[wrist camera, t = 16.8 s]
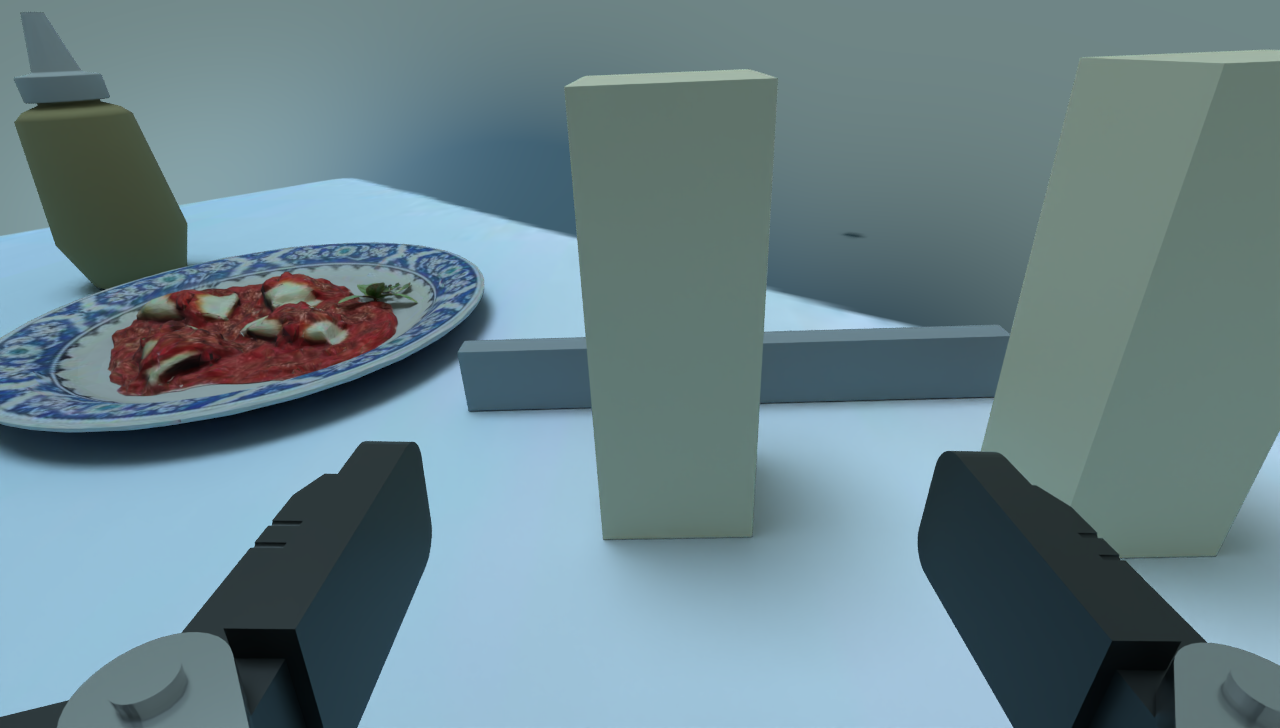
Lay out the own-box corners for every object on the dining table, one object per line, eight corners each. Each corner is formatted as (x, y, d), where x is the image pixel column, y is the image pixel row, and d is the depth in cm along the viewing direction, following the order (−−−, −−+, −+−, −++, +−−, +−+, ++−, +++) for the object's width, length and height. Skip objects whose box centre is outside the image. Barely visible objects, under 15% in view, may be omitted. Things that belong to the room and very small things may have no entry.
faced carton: (1215, 556, 20) (1470, 53, 13) (1051, 559, 20) (1224, 63, 13) (1107, 457, 24) (1256, 49, 18) (975, 460, 24) (1075, 57, 18)
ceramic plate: (-164, 539, 23) (-217, 473, 22) (94, 303, 45) (75, 263, 43) (527, 392, 31) (519, 337, 30) (463, 252, 53) (456, 216, 51)
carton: (752, 537, 21) (777, 78, 15) (603, 539, 21) (564, 86, 15) (734, 447, 26) (747, 69, 19) (612, 449, 26) (585, 75, 19)
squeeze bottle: (94, 305, 44) (-44, 8, 35) (64, 283, 48) (-65, 15, 40) (220, 273, 49) (125, 9, 41) (182, 256, 54) (90, 15, 46)
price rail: (468, 410, 29) (457, 352, 28) (475, 395, 30) (466, 338, 29) (996, 396, 28) (1012, 335, 27) (981, 381, 30) (995, 322, 28)
